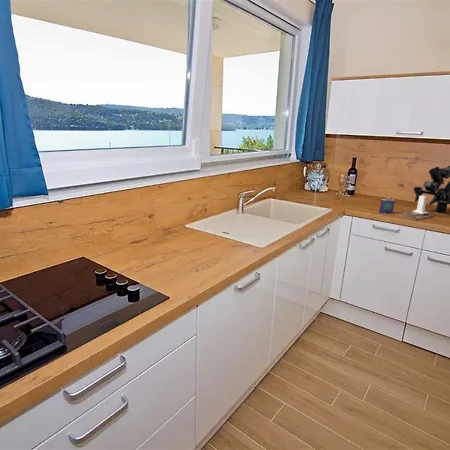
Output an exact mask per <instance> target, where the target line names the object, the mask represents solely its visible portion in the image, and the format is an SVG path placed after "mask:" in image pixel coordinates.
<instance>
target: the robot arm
mask: <svg viewBox="0 0 450 450" xmlns="http://www.w3.org/2000/svg"><path fill="white" fill-rule="evenodd" d="M428 174H429V177H430V179H431V181H429V180H425V181H424V183H423V185H422V186H423V187H424V189H423V188H422V187H421V186H415V187H413V191H414V194H415V198H414V202H415V203H416V202H418V201H419V196H421V195H423V194H426V195H430V196H433V198H431V200H430V202H429V203H428V204H429V206H431V205H434V204H435V203H436V207H435V208H433V211H435V212H437V213H447V214H449V212H448V211H447V208H448V205H450V180H449V181H448V182H447V183H446V185H445V180H447V179H449V178H450V165H448V166H446V167H441V168H440V167H439V166H435V167H433V168H430V169H429V170H428ZM442 185H445V186H444V187H441V186H442Z"/></svg>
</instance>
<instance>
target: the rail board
mask: <svg viewBox="0 0 450 450" xmlns="http://www.w3.org/2000/svg"><path fill="white" fill-rule="evenodd" d="M425 211H426V210H425ZM426 212H428V213H426V214H419V213H415V212H413V211H409V212H407V211H403V213H398V214H397V216H398V217H399V218H405V219H408V218H409V219H408V220H411V219H412V221H421V220H425V219H426V220H427V219H430V218H434V217H435V215H433V214H430V211H428V210H427V211H426Z"/></svg>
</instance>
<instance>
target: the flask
mask: <svg viewBox="0 0 450 450" xmlns="http://www.w3.org/2000/svg"><path fill="white" fill-rule="evenodd" d="M395 203H396V200H395V199H391V197H390V196H389V197H387V198H383V199H380V206H379V211H378V213H379V214H385V215H386V214H393V213H394V207H395Z"/></svg>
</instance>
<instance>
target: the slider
mask: <svg viewBox="0 0 450 450" xmlns="http://www.w3.org/2000/svg"><path fill="white" fill-rule="evenodd" d="M427 200H428V195H423V194H422V195H421V196H419V199H418V200H417V207H416V209H414V210H412V212H415V213H419V214H426V213H428V212H429V211H427V212H426V206H427Z"/></svg>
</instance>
